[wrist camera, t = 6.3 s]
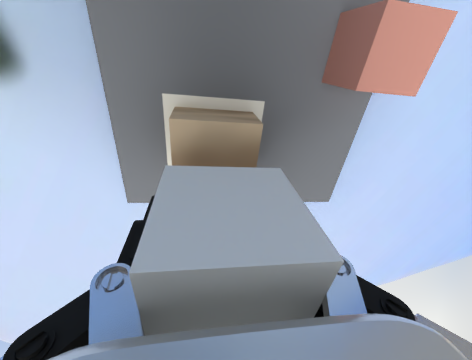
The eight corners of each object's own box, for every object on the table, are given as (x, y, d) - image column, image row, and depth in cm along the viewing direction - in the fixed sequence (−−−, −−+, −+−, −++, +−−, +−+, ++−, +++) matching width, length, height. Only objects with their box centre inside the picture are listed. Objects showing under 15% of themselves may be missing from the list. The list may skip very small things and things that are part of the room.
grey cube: (165, 165, 10) (128, 273, 5) (280, 168, 11) (343, 261, 6) (172, 249, 13) (153, 369, 8) (262, 245, 14) (295, 350, 9)
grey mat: (65, -112, 12) (60, -117, 11) (418, -34, 16) (424, -36, 16) (128, 200, 23) (127, 203, 23) (327, 199, 27) (328, 201, 27)
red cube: (340, 12, 16) (388, -1, 12) (395, 21, 17) (457, 11, 13) (321, 82, 19) (355, 90, 15) (369, 87, 20) (415, 96, 16)
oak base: (174, 106, 18) (168, 118, 15) (252, 111, 19) (263, 124, 16) (178, 175, 22) (174, 198, 18) (244, 176, 23) (251, 198, 20)
